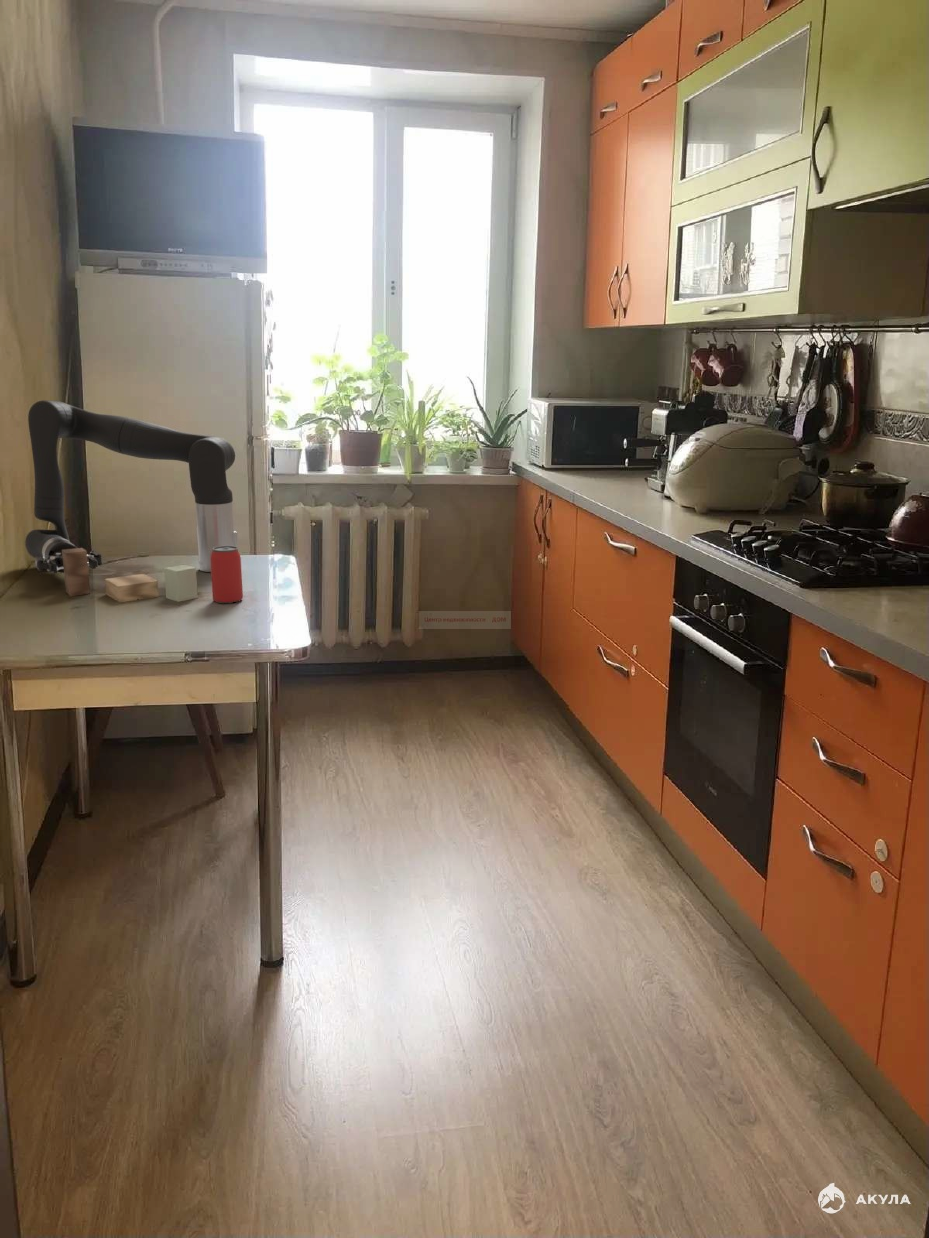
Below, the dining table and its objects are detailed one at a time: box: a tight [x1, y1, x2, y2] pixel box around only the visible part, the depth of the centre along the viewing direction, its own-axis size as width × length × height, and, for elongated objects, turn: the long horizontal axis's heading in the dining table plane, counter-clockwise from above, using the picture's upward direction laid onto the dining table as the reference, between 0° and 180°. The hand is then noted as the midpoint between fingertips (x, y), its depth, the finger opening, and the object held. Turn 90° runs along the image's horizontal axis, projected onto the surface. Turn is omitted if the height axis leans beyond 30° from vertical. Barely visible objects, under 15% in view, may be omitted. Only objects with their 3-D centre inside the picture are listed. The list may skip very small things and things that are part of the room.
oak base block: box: [104, 573, 160, 603], centre depth 229 cm, size 9×9×4 cm
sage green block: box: [163, 564, 198, 603], centre depth 227 cm, size 5×5×7 cm
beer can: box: [210, 546, 244, 604], centre depth 224 cm, size 7×7×12 cm
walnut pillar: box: [62, 547, 91, 597], centre depth 231 cm, size 4×4×10 cm
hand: (74, 566), depth 231 cm, fingers open, 8 cm apart
